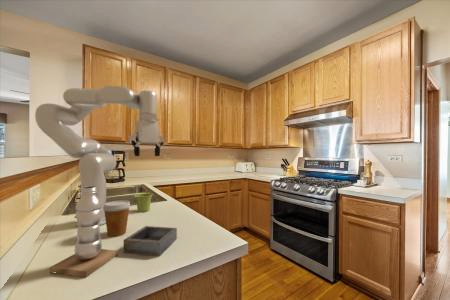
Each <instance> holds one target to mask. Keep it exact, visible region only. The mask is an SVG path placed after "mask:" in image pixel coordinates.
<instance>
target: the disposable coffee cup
mask: <svg viewBox="0 0 450 300" xmlns="http://www.w3.org/2000/svg"><path fill="white" fill-rule="evenodd" d="M130 208H131V204H130V201H129V200H125V199H124V200H112V201H108V202H106V203H105V204H104V207H103V209H104V211H105V219H106V223H105V225H106V232H107V237H110V238H115V237H120V236H123V235H125V234H126V233H127V227H128V226H127V225H128V220H129V219H128V218H129V212H130Z"/></svg>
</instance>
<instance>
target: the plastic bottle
mask: <svg viewBox="0 0 450 300" xmlns="http://www.w3.org/2000/svg"><path fill="white" fill-rule="evenodd" d="M96 193H97V187H96V186H88V187H82V192H81V191H80V195H81V194H82V197H81V196H80V199H79V200H78V201H77V203H76V205H75V215H76V216H77V218H76V221H77V222H76V223H77V226H78V227H77V226H76V227H77V233H76V241H75V245H74V254H75V256H76V258H77V259H79V260H87V259H91V258H94V257H96V256H97V255H98V254H99V253H100V251H101V249H103V248H102V247H103V244H102V238H101V228H100V226H101V225H100V223H99V222H100V214H101V208H102V202H101V200H100V199H99V198H98V197H97V195H96Z"/></svg>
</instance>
